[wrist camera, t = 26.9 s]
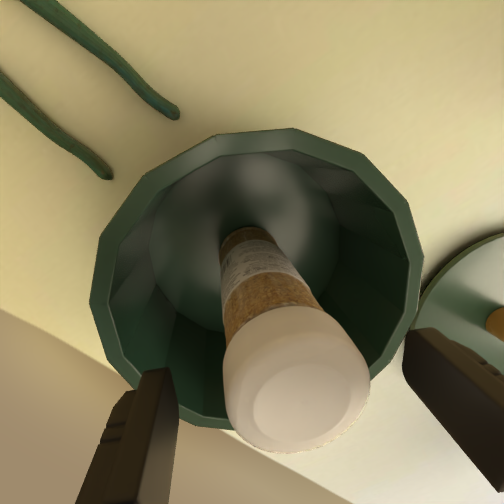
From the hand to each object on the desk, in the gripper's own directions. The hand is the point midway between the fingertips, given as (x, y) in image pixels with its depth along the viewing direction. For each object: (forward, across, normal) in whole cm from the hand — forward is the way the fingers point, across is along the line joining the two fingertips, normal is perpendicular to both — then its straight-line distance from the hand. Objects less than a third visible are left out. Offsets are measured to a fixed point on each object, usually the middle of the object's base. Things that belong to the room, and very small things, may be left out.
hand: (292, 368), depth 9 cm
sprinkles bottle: (+12, 0, 0) cm, 12 cm away
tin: (+13, 0, 0) cm, 13 cm away
